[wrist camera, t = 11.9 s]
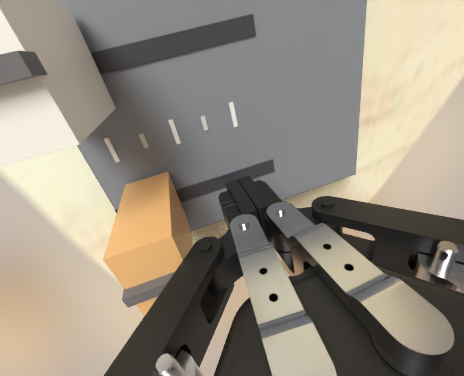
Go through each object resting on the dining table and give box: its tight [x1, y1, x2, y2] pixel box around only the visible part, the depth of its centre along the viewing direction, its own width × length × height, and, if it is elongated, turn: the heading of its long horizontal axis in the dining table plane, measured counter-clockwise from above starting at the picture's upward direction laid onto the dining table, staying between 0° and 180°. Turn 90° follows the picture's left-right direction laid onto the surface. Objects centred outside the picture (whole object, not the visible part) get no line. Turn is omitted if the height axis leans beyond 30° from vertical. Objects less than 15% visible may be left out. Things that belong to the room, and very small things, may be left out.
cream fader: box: [0, 0, 116, 167], centre depth 8 cm, size 3×4×6 cm, turn 13°
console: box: [55, 0, 367, 231], centre depth 14 cm, size 17×16×2 cm
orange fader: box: [103, 172, 193, 316], centre depth 12 cm, size 3×4×6 cm, turn 13°
